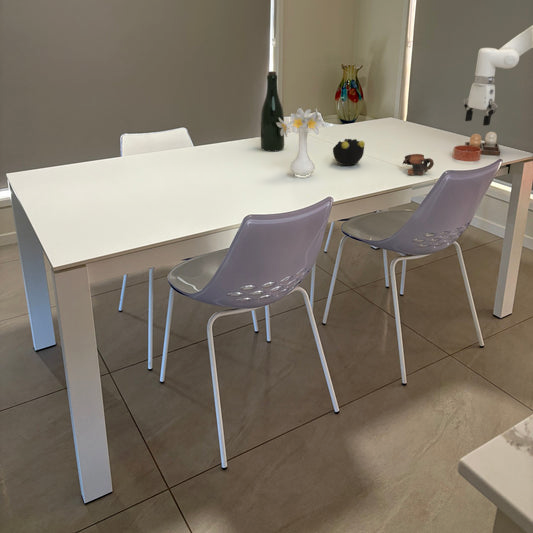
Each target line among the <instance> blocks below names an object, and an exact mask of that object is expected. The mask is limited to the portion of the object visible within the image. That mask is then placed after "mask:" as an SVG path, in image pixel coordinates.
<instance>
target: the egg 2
mask: <svg viewBox="0 0 533 533" xmlns="http://www.w3.org/2000/svg"><path fill="white" fill-rule="evenodd" d="M497 138H498V134H497V133H496V132H495V131H488V132H487V133H486V134H485V139H484V143H485V144H484V146H485V147H495V146H496V144H497Z"/></svg>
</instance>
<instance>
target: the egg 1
mask: <svg viewBox="0 0 533 533" xmlns="http://www.w3.org/2000/svg"><path fill="white" fill-rule="evenodd" d="M468 142H469V146H475V147H479V148H480V146H481V143H482V135H481V134H479V133H473V134H472V135H471V136H470V137H469V141H468Z"/></svg>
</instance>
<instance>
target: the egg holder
mask: <svg viewBox="0 0 533 533" xmlns="http://www.w3.org/2000/svg"><path fill="white" fill-rule="evenodd" d="M469 142H470V141H465V142H464V145H467V146H469ZM484 144H485V142H481V146H480V148H481V149H482V152H481V156H495V157H496V156H497V157H500V156H501V149H500V145H499V143H496V146H495V147H485V146H484Z"/></svg>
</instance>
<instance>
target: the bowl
mask: <svg viewBox="0 0 533 533" xmlns="http://www.w3.org/2000/svg"><path fill="white" fill-rule="evenodd" d="M452 150H453V151H452V159H453V160H456V161H460V162H461V161H462V162H478V161H480V160H481V159H482V155H481V152H482V149H481V148H479V147H475V146H467V145H465V144H464V145H456V146H454V147H453V148H452Z"/></svg>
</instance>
